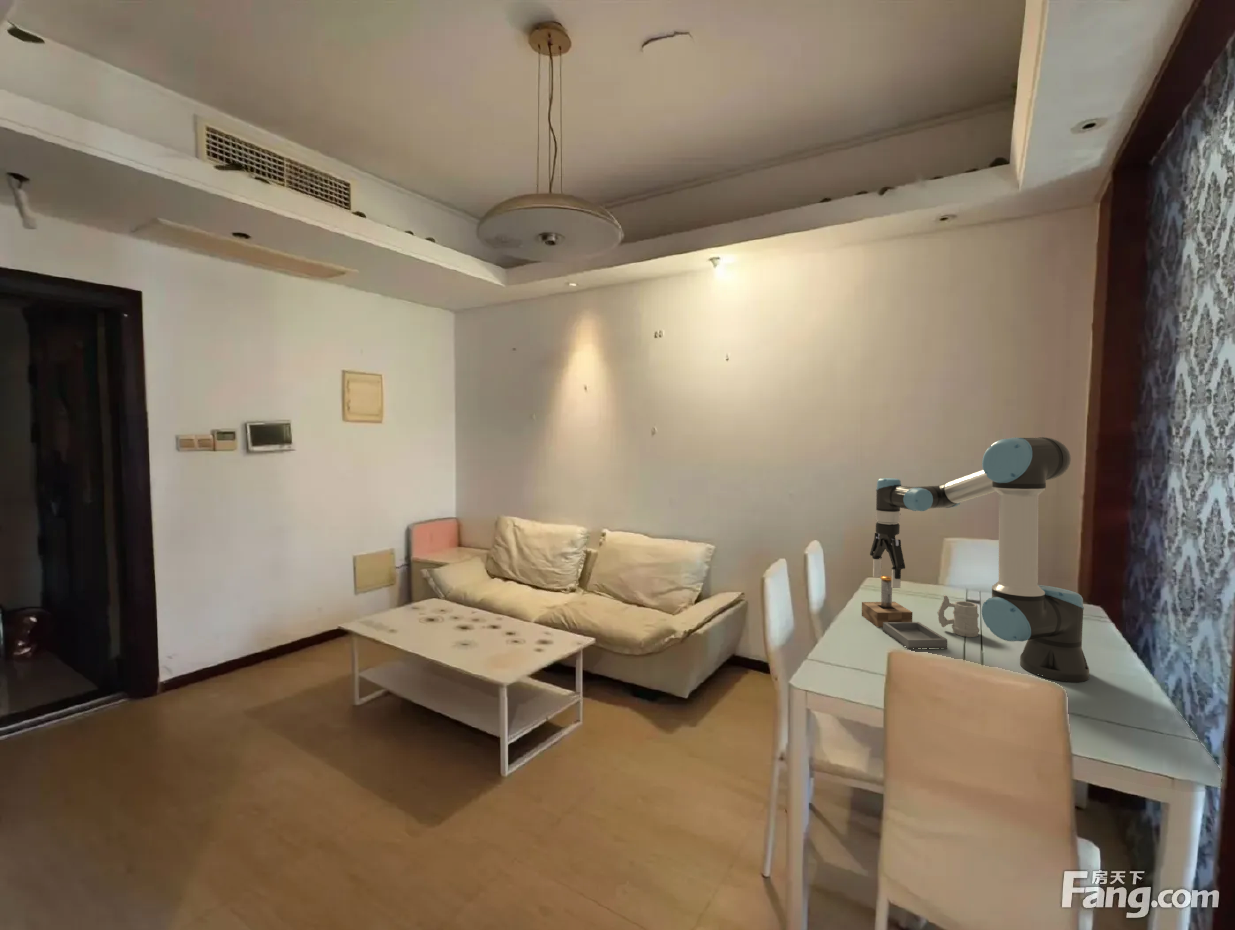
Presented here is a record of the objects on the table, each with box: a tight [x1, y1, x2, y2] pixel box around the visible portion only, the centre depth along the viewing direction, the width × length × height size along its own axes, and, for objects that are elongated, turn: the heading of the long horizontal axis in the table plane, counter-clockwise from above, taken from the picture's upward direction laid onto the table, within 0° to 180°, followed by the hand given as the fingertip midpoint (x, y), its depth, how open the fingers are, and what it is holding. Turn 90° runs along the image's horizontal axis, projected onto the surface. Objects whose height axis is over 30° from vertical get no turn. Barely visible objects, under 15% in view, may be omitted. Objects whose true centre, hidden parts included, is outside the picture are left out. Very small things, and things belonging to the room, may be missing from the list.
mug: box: [937, 594, 980, 638], centre depth 184 cm, size 8×12×12 cm, turn 62°
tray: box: [882, 621, 948, 651], centre depth 178 cm, size 16×12×3 cm
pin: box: [880, 575, 893, 609], centre depth 196 cm, size 4×4×16 cm
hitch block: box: [861, 601, 913, 628], centre depth 196 cm, size 12×12×5 cm
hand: (886, 582), depth 196 cm, fingers open, 13 cm apart
